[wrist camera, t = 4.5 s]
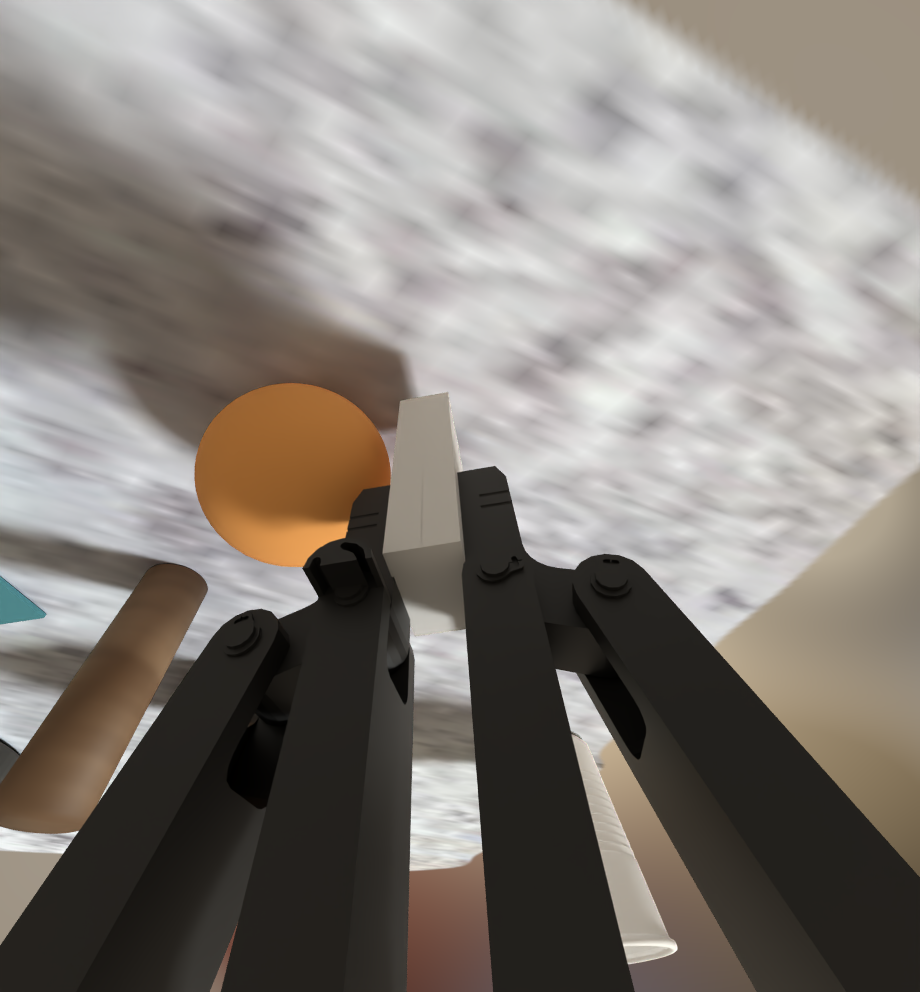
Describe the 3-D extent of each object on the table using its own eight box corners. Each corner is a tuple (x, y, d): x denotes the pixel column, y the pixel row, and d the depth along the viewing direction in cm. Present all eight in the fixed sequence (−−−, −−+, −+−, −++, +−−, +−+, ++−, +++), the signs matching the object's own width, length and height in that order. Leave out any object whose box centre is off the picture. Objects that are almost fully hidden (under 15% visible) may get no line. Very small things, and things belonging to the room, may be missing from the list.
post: (166, 605, 21) (28, 837, 14) (132, 568, 19) (-44, 810, 12) (218, 597, 21) (105, 828, 14) (188, 560, 19) (43, 799, 12)
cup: (524, 783, 37) (552, 975, 28) (454, 747, 32) (462, 966, 23) (633, 748, 34) (703, 953, 25) (574, 701, 29) (635, 938, 20)
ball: (436, 502, 16) (319, 482, 18) (398, 352, 12) (261, 351, 15) (346, 627, 12) (214, 581, 14) (258, 463, 9) (103, 438, 11)
